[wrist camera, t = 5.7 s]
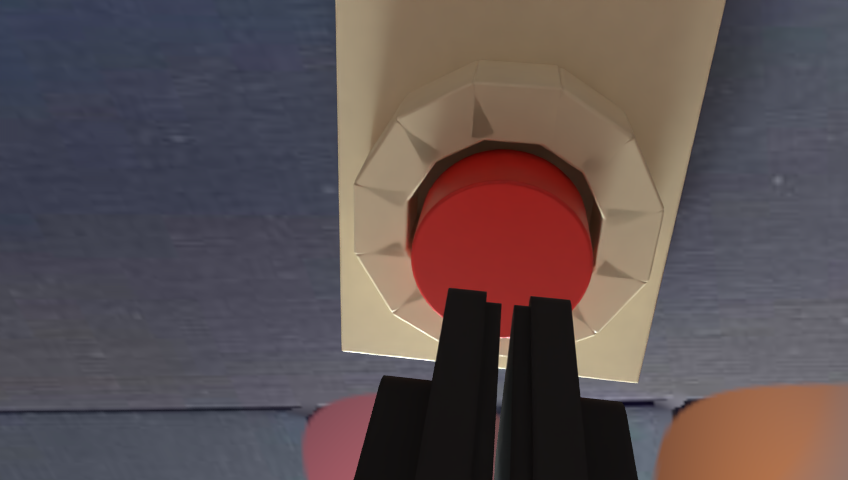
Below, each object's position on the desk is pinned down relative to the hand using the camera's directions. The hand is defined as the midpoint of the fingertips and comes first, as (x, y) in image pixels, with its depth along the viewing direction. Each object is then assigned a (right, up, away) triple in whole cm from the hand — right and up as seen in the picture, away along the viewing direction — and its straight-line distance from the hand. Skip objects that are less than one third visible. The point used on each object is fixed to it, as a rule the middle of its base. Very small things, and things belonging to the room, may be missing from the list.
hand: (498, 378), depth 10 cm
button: (+1, +2, +6) cm, 6 cm away
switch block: (+1, +4, +9) cm, 10 cm away
